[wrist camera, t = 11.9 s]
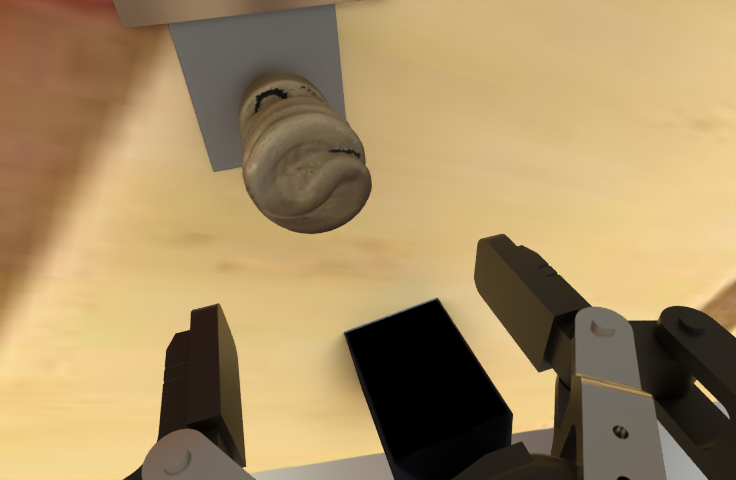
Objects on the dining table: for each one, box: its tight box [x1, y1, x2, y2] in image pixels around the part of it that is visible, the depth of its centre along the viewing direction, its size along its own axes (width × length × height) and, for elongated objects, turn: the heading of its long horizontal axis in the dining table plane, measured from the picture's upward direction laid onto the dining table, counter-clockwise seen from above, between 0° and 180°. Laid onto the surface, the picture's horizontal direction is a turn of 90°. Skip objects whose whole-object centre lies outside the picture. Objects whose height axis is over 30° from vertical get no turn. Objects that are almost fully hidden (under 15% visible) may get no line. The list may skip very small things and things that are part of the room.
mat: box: [168, 3, 346, 172], centre depth 29 cm, size 10×10×1 cm
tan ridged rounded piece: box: [238, 71, 372, 234], centre depth 23 cm, size 6×6×15 cm
